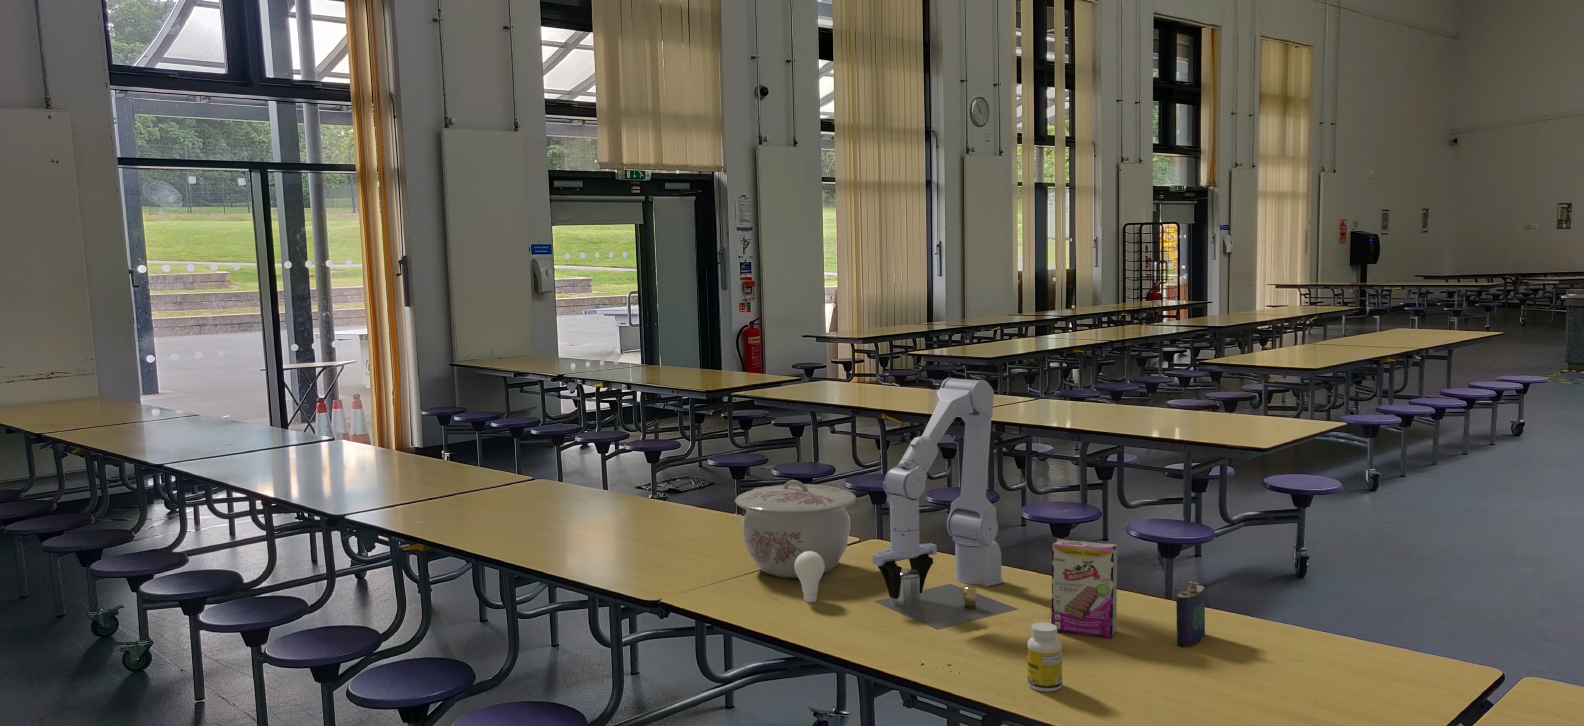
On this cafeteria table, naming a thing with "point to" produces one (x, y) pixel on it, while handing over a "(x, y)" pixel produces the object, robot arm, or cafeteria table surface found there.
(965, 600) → the tan rounded cylinder
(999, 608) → the base board
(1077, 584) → the candy bar box
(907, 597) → the cylinder
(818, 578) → the lightbulb
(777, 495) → the chamber pot
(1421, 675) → the cafeteria table surface
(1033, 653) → the supplement bottle
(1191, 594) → the flask
